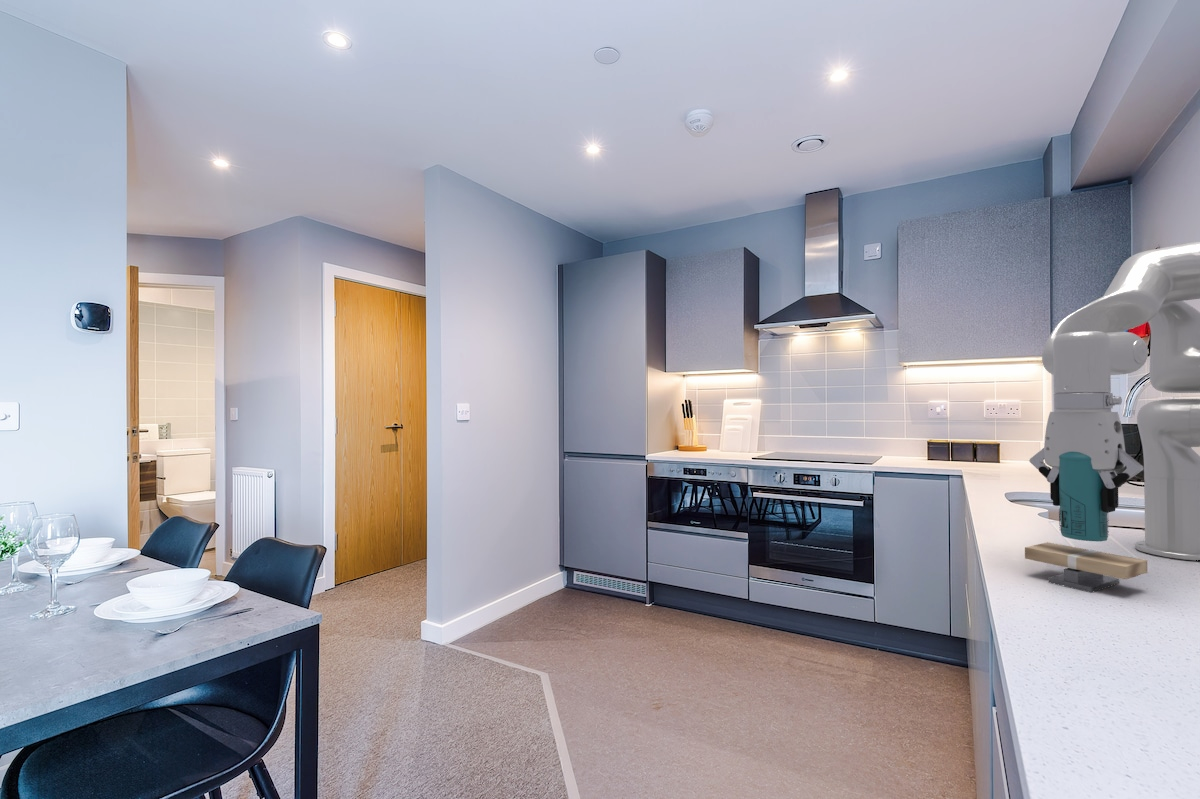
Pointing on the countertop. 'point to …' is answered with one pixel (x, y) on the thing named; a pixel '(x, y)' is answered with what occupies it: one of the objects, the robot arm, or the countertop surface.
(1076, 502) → the beverage bottle
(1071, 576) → the fulcrum
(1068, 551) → the beam
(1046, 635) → the countertop surface
